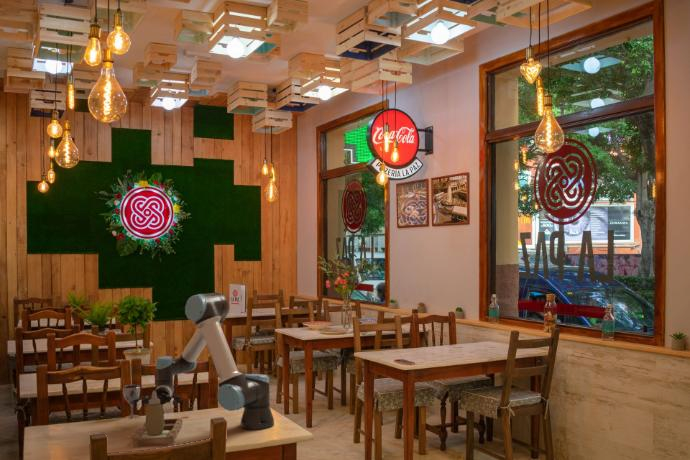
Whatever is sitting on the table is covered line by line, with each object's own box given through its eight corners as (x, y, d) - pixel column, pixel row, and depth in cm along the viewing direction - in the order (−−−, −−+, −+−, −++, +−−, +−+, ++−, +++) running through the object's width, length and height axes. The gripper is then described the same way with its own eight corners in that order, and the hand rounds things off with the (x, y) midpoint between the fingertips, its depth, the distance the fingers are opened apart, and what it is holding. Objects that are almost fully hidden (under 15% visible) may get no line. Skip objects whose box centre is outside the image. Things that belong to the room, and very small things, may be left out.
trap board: (146, 426, 300) (146, 419, 300) (182, 424, 302) (182, 417, 302) (132, 447, 268) (132, 439, 268) (172, 444, 270) (172, 436, 270)
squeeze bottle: (159, 436, 270) (158, 393, 271) (141, 436, 272) (140, 392, 272) (168, 431, 278) (167, 389, 278) (151, 431, 279) (150, 388, 280)
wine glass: (133, 414, 324) (133, 384, 325) (144, 416, 320) (143, 385, 320) (120, 418, 318) (119, 387, 318) (130, 420, 313) (129, 388, 314)
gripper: (190, 401, 299) (184, 412, 278) (133, 404, 296) (124, 416, 275) (189, 385, 299) (184, 395, 278) (133, 388, 296) (123, 398, 275)
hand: (154, 405), depth 276 cm, fingers open, 13 cm apart
